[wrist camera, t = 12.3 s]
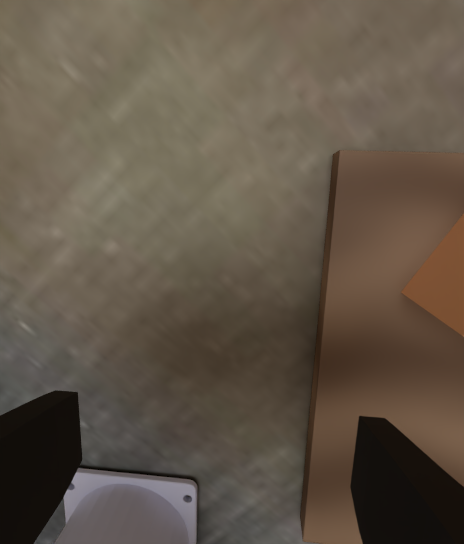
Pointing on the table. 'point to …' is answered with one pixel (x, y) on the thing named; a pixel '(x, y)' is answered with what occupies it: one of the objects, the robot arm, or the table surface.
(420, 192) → the board
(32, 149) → the table surface
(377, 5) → the table surface
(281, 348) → the table surface
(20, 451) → the robot arm
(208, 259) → the table surface
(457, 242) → the terracotta cube
